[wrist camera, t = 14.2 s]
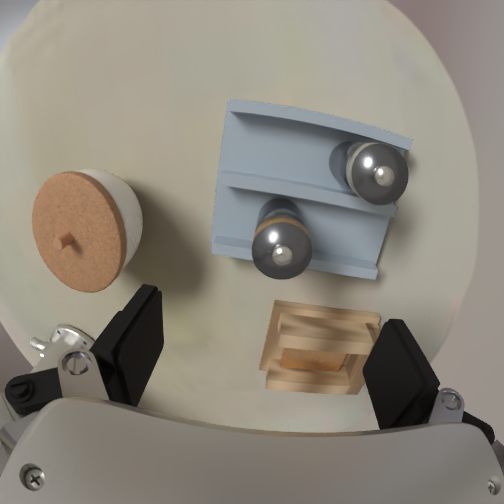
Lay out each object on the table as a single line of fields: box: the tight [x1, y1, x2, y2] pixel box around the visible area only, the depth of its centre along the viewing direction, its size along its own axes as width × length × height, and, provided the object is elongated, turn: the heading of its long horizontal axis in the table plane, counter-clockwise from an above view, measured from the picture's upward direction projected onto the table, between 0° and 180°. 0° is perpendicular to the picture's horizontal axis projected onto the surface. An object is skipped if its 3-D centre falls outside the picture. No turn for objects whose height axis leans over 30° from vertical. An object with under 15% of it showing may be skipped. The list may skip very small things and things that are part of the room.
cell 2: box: [329, 141, 408, 205], centre depth 18 cm, size 4×4×8 cm
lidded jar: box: [32, 169, 143, 293], centre depth 22 cm, size 11×11×9 cm
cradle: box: [259, 300, 381, 394], centre depth 28 cm, size 12×10×4 cm
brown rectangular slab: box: [280, 347, 346, 372], centre depth 29 cm, size 7×5×1 cm, turn 82°
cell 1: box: [252, 198, 312, 279], centre depth 20 cm, size 4×4×8 cm
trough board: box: [211, 99, 412, 280], centre depth 22 cm, size 16×13×3 cm
